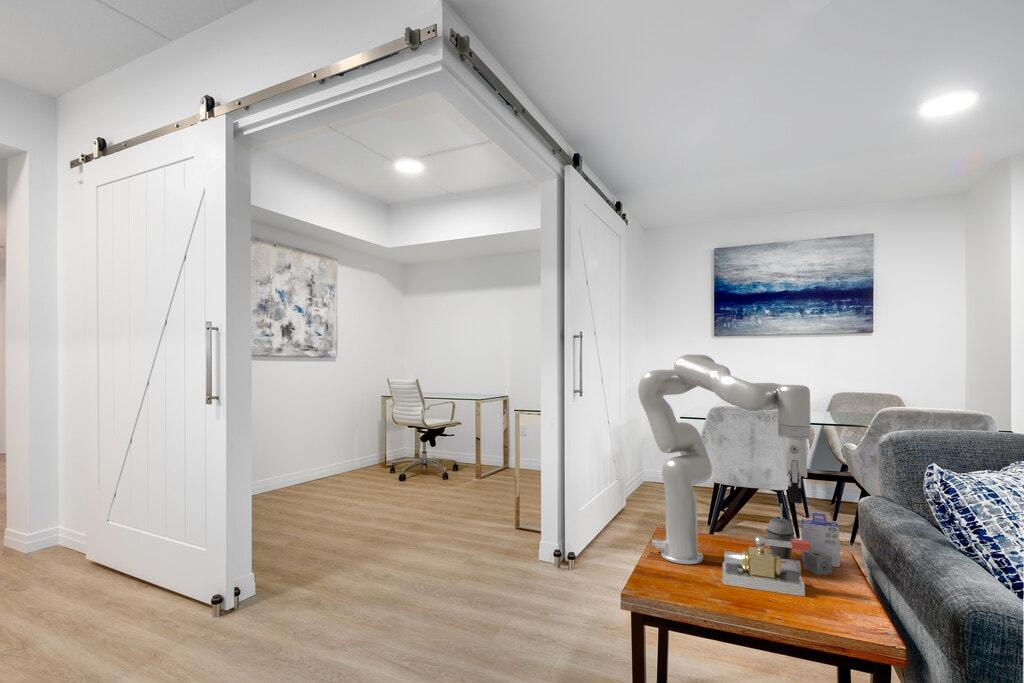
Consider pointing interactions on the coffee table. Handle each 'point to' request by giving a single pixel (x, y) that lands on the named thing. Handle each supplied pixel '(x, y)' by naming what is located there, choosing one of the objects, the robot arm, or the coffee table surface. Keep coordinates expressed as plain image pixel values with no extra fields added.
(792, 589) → the pipe valve board
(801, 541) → the valve lever
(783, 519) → the beverage cup
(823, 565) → the dice cube
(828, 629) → the coffee table surface
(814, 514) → the ink cartridge box
